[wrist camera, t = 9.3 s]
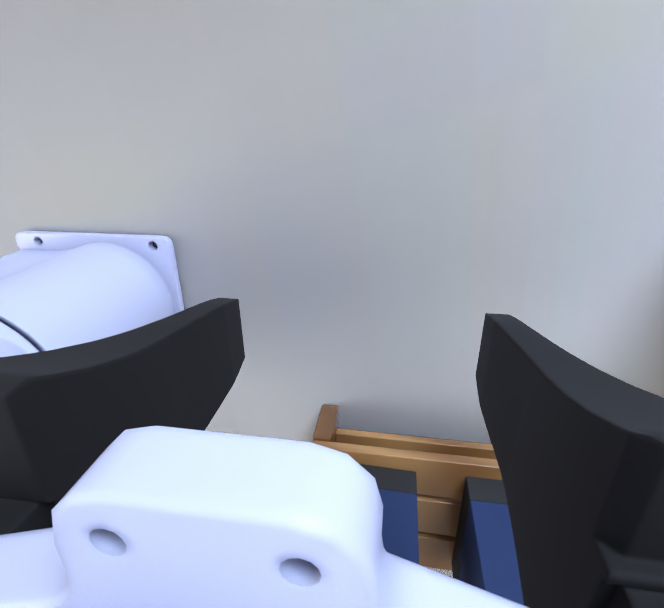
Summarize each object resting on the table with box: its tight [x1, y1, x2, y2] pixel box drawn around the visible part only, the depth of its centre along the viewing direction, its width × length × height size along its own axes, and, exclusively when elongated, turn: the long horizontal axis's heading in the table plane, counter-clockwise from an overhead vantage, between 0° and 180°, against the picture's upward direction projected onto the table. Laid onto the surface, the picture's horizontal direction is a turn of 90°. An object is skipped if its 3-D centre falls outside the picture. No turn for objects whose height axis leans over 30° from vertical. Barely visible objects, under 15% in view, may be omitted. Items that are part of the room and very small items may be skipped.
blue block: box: [360, 464, 419, 564], centre depth 21 cm, size 7×4×6 cm, turn 179°
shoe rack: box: [313, 405, 502, 570], centre depth 25 cm, size 14×9×4 cm, turn 91°
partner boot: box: [451, 476, 524, 605], centre depth 20 cm, size 7×4×6 cm, turn 1°
